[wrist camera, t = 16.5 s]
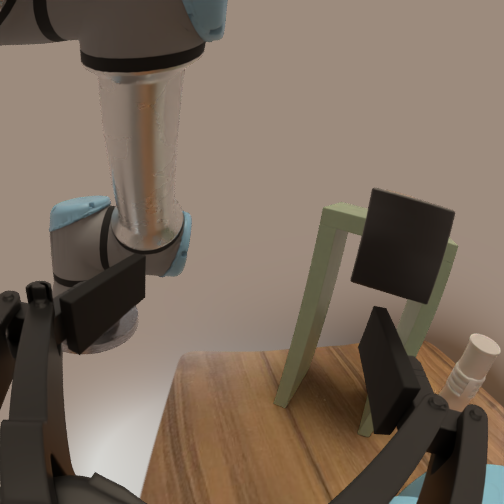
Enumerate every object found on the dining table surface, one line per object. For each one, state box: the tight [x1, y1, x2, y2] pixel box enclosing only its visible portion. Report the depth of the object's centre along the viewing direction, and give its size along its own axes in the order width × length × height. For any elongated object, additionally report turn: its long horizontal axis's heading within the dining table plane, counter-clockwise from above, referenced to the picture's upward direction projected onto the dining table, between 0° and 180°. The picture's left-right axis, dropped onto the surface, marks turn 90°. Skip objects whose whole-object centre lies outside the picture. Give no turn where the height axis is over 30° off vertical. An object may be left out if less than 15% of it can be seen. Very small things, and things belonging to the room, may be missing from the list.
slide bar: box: [351, 188, 455, 305], centre depth 20 cm, size 3×23×4 cm, turn 153°
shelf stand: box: [274, 202, 458, 437], centre depth 38 cm, size 16×12×32 cm
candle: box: [438, 334, 501, 412], centre depth 37 cm, size 7×7×15 cm
